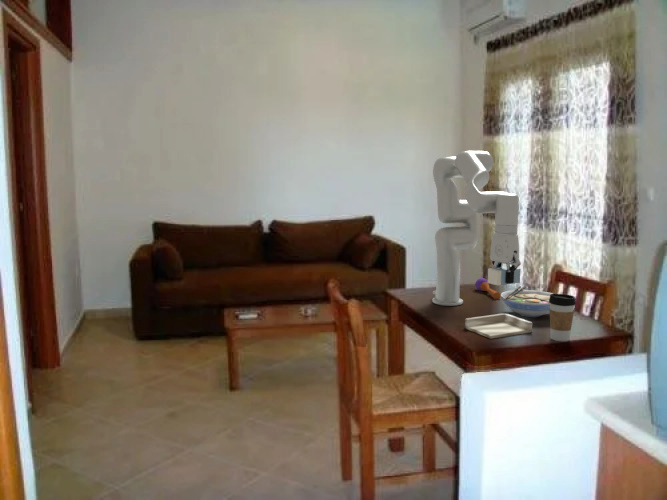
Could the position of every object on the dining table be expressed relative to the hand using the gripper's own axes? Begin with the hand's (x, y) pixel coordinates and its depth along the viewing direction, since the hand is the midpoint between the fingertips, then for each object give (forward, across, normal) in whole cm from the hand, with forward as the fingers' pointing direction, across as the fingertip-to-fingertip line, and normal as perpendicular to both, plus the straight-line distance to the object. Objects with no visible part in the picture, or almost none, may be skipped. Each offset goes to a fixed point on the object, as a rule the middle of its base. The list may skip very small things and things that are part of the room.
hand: (503, 281), depth 216 cm
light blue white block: (+1, 0, 0) cm, 1 cm away
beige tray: (+18, 0, -1) cm, 18 cm away
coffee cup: (+18, +17, +11) cm, 27 cm away
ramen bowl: (+18, -12, +24) cm, 32 cm away
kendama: (+18, -47, +32) cm, 60 cm away
